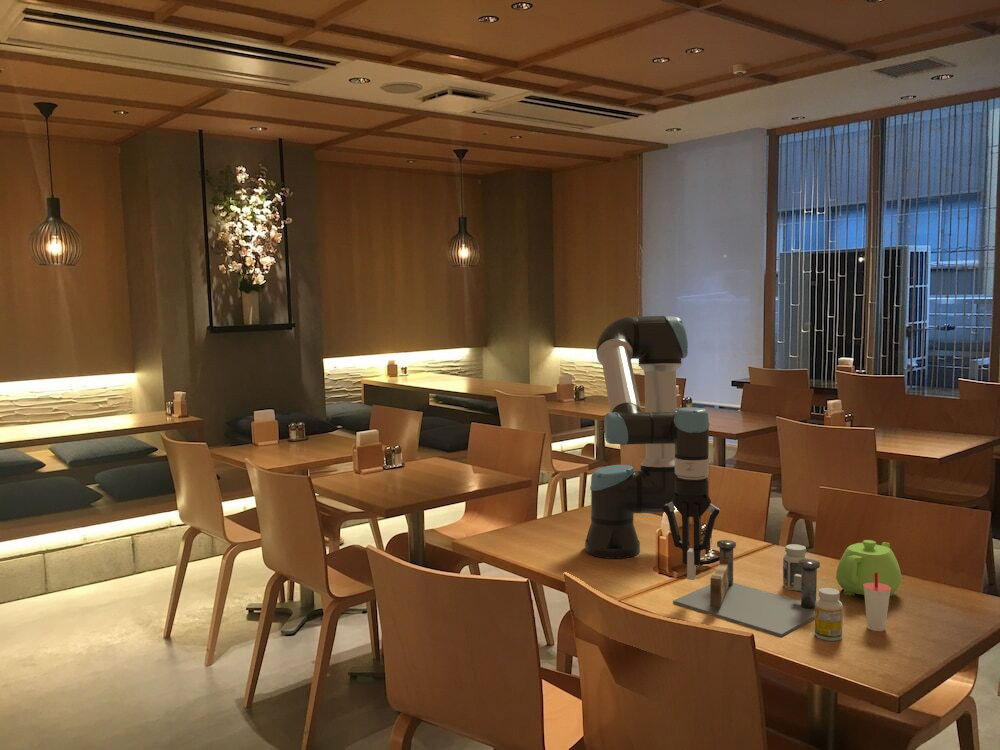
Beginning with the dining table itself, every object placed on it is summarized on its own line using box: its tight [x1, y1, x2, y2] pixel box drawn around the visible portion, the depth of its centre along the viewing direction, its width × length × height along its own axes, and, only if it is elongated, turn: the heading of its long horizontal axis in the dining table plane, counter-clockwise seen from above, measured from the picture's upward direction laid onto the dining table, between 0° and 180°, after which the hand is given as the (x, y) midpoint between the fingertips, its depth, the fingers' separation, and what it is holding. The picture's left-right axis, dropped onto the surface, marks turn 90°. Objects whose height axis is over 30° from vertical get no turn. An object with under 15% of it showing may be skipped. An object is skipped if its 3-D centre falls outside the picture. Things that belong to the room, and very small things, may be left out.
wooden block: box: [709, 556, 729, 608], centre depth 192 cm, size 16×2×6 cm, turn 157°
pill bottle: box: [782, 543, 809, 592], centre depth 200 cm, size 6×6×10 cm
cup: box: [863, 573, 891, 632], centre depth 175 cm, size 5×5×12 cm
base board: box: [672, 582, 815, 638], centre depth 189 cm, size 27×20×1 cm
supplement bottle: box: [814, 587, 844, 642], centre depth 172 cm, size 5×5×10 cm
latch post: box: [794, 558, 821, 609], centre depth 187 cm, size 6×5×11 cm
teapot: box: [835, 539, 902, 597], centre depth 195 cm, size 20×13×13 cm
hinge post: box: [716, 539, 737, 586], centre depth 202 cm, size 4×4×11 cm
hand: (691, 577), depth 192 cm, fingers closed
